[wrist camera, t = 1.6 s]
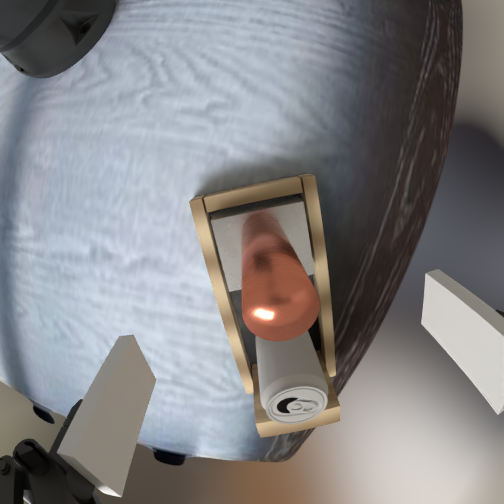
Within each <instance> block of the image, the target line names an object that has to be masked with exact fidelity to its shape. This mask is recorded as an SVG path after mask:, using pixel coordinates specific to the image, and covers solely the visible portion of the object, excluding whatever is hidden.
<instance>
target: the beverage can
mask: <svg viewBox="0 0 504 504" xmlns="http://www.w3.org/2000/svg"><path fill="white" fill-rule="evenodd" d="M255 341H256V353H257V364H258V376H259V387H260V399H261V404H262V406H263V408H264V409H265V410H266V413H267V415H268V417H269V418H270V419H271V420H273V421H275V422H277V423H281V424H299V423H303V422H306V421H309V420H311V419H313V418H315V417H316V416H318V415H319V414H320V413H322V412H323V410H324V409H325V408H326V406H327V402H328V399H327V396H328V385H327V382H326V380H325V377H324V374H323V371H322V368H321V365H320V363H319V360H318V357H317V354H316V351H315V349H314V346H313V343H312V340H311V337H310V335H309V332H308V330H307V331H306V332H305V333H303V334H302V335H300V336H298V337H296V338H294V339H291V340H287V341H278V342H277V341H268V340H265V339H262V338H259V337H258V336H256V337H255Z"/></svg>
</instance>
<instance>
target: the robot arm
mask: <svg viewBox="0 0 504 504" xmlns="http://www.w3.org/2000/svg"><path fill="white" fill-rule="evenodd" d="M114 8H115V0H0V53H1V54H2V55H3V56H4V57H5V58H6V59H7V60H8V61H9V62H10V63H11V64H12V65H14V67H15V68H16V69H17V70H18V71H19V72H21V73H22V74H24V75H27V76H31V77H35V78H48V77H52V76H55V75H57V74H59V73H61V72H63V71H65V70H67V69H68V68H70V67H71V66H73V65H74V64H75V63H76V62H78V61H79V60H80V59H81V58H82V57H83V56H84V55H86V54H87V53H88V51H89V50H90V49H91V48H92V47H93V46H94V45H95V44H96V42H97V41H98V40H99V38H100V37H101V36H102V34H103V33H104V31H105V29H106V28H107V26H108V24H109V22H110V20H111V18H112V15H113V12H114ZM421 324H422V325H423V326H424V327H425V328H426V329H427V330H428V332H430V334H432V336H433V337H434V338H435V339H436V340H437V341H438V343H439V344H440V345H441V346H442V347H443V348H444V349H445V350H446V351H447V353H448V354H449V355H450V356H451V357H452V358H453V359H454V361H456V363H457V364H458V365H459V367H460V368H461V369H462V370H463V371H464V373H465V374H466V375H467V376H468V377H469V379H470V380H471V381H472V382H473V384H474V385H475V386H476V387H477V388H478V390H479V391H480V392H481V393H482V395H483V396H484V397H485V399H486V400H487V401H488V402H489V404H490V405H491V406H492V408H493V409H494V410H495V412H496V413H497V414H500V413H501V412H502V411H504V312H501V311H499V310H496V311H495V310H493V309H492V308H491V307H490V306H488V305H487V304H486V303H484V302H483V301H482V300H480V299H479V298H478V297H476V296H475V295H474V294H472V293H471V292H470V291H468V290H467V289H466V288H464V287H463V286H461V285H460V284H459V283H457V282H455V281H454V280H453V279H451V278H450V277H449V276H447V275H446V274H444V273H443V272H442V271H440V270H439V269H437V270H434V271H431V272H428V273H426V275H425V291H424V303H423V314H422V322H421ZM155 382H156V378H155V376H154V375H153V373H152V371H151V369H150V367H149V365H148V363H147V361H146V359H145V357H144V355H143V353H142V351H141V349H140V347H139V345H138V343H137V341H136V339H135V337H134V335H126V336H119V338H118V339H117V341H116V343H115V344H114V346H113V348H112V349H111V351H110V353H109V355H108V356H107V358H106V360H105V361H104V363H103V365H102V367H101V368H100V370H99V372H98V374H97V375H96V377H95V379H94V381H93V383H92V384H91V386H90V388H89V390H88V392H87V394H86V395H85V397H84V399H80V400H79V401H78V402H77V403H76V404H75V405H74V406H73V407H72V409H71V411H70V412H69V414H68V416H67V419H66V420H65V422H64V424H63V427H62V428H61V430H60V432H59V433H58V435H57V437H56V440H55V441H54V443H53V446H52V448H51V450H50V452H49V453H47V452H46V451H45V450H44V449H43V448H42V447H41V446H40V445H39V444H38V442H36V441H35V440H34V439H25V440H23V441H21V442H20V443H19V444H18V445H17V446H16V447H15V449H14V451H13V457H11V456H8V455H5V456H3V457H1V458H0V504H23V503H24V501H23V500H25V501H26V502H28V503H29V504H101V502H100V500H99V498H98V496H97V495H96V494H95V493H94V492H93V491H94V488H95V487H97V488H98V489H99V490H101V491H102V492H103V493H105V494H109V495H114V496H119V497H122V493H123V490H124V486H125V482H126V478H127V474H128V471H129V467H130V464H131V460H132V457H133V453H134V450H135V446H136V443H137V439H138V436H139V433H140V430H141V426H142V423H143V420H144V417H145V413H146V410H147V407H148V404H149V401H150V398H151V395H152V392H153V388H154V385H155Z"/></svg>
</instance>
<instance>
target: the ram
mask: <svg viewBox="0 0 504 504" xmlns="http://www.w3.org/2000/svg"><path fill="white" fill-rule="evenodd" d="M211 224H212V228H213V232H214V236H215V240H216V243H217V247H218V251H219V255H220V259H221V263H222V266H223V270H224V274H225V278H226V281H227V285H228V289H229V292H231V291H236V290H241V289H242V317H243V320H244V323H245V325H246V326H247V328H248V329H249V330H250V331H251V332H252V333H253V334H255V335H256V336H258V337H259V338H262V339H265V340H268V341H277V342H278V341H287V340H291V339H294V338H296V337H298V336H300V335H302V334H303V333H305V332H306V331H307V330H308V329H309V328H310V327H311V326H312V325H313V324H314V322H315V320H316V318H317V316H318V313H319V307H320V302H319V297H318V294H317V292H316V290H315V288H314V286H313V284H312V282H311V280H310V279H309V277H308V275H312V274H314V268H313V260H312V253H311V246H310V239H309V233H308V226H307V220H306V214H305V208H304V202H303V201H302V200H301V199H300V198H298V197H297V196H296V195H293V196H288V197H283V198H278V199H273V200H268V201H263V202H258V203H254V204H249V205H244V206H239V207H235V208H230V209H226V210H221V211H217V212H215V213H214V215H213V217H212V219H211Z"/></svg>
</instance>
